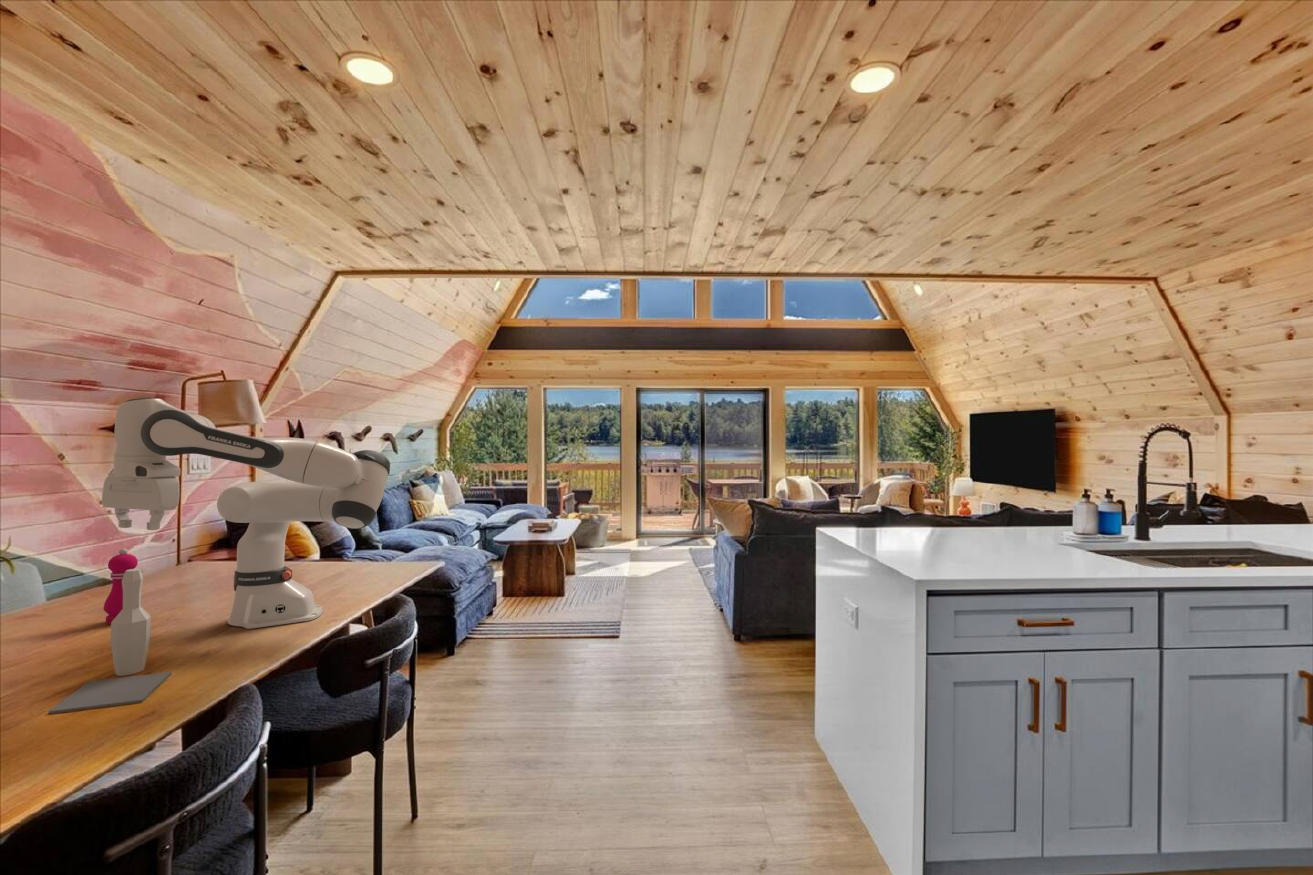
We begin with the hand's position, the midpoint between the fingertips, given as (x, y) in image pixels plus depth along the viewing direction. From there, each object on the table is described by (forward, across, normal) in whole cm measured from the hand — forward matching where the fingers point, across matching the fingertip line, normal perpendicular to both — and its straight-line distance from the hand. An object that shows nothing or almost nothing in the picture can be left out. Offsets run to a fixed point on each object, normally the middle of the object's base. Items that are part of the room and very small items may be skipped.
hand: (138, 528), depth 130 cm
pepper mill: (+30, -35, +17) cm, 49 cm away
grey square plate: (+30, +15, -12) cm, 36 cm away
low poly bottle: (+30, +6, -5) cm, 31 cm away
